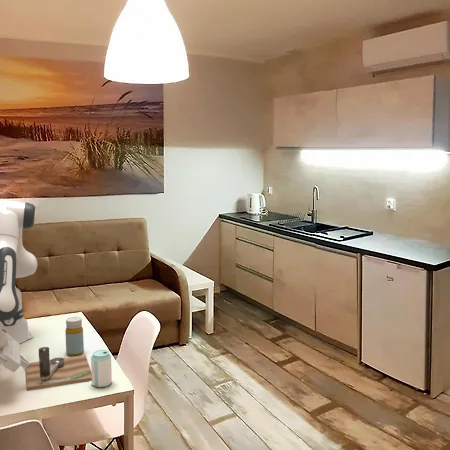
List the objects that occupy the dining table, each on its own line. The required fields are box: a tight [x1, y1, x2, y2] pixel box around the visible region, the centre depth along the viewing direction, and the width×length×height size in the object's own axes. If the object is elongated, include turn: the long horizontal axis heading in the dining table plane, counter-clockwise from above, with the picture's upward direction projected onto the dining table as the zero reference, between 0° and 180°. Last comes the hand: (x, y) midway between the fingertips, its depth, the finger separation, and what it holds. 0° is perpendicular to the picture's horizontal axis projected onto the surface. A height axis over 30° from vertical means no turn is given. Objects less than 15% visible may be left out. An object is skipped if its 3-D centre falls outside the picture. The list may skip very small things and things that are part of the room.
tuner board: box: [25, 354, 92, 392], centre depth 198 cm, size 22×23×1 cm
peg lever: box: [38, 346, 64, 380], centre depth 194 cm, size 18×5×12 cm, turn 177°
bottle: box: [65, 316, 85, 357], centre depth 215 cm, size 7×7×15 cm
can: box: [90, 349, 113, 388], centre depth 189 cm, size 7×7×12 cm
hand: (27, 365), depth 186 cm, fingers closed
